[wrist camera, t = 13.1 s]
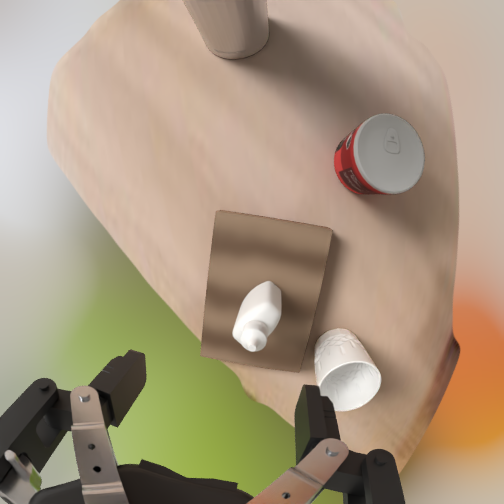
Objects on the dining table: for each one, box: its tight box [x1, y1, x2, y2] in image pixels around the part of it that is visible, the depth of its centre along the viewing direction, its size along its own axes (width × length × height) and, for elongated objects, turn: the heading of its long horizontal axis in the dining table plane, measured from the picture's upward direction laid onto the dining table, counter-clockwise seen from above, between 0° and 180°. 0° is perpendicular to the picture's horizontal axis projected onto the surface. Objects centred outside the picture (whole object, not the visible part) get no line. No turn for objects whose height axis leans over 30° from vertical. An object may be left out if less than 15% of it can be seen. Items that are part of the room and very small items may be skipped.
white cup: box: [314, 328, 381, 411], centre depth 34 cm, size 8×8×10 cm
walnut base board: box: [201, 210, 333, 373], centre depth 37 cm, size 20×14×3 cm
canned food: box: [334, 113, 425, 194], centre depth 28 cm, size 8×8×11 cm
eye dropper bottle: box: [233, 281, 281, 352], centre depth 29 cm, size 4×6×12 cm
